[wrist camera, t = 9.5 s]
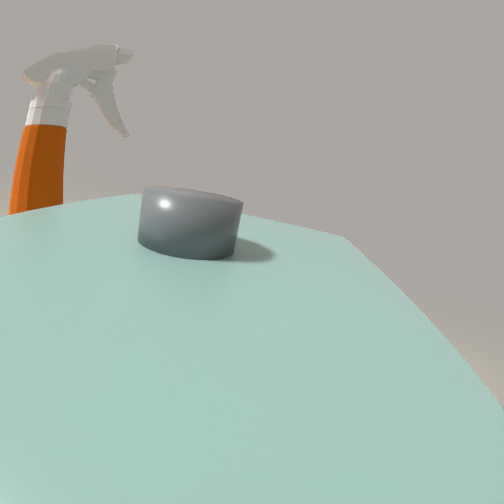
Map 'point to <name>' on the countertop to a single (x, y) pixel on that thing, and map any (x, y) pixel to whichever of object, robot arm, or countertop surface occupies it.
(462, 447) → the box
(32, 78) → the spray bottle
